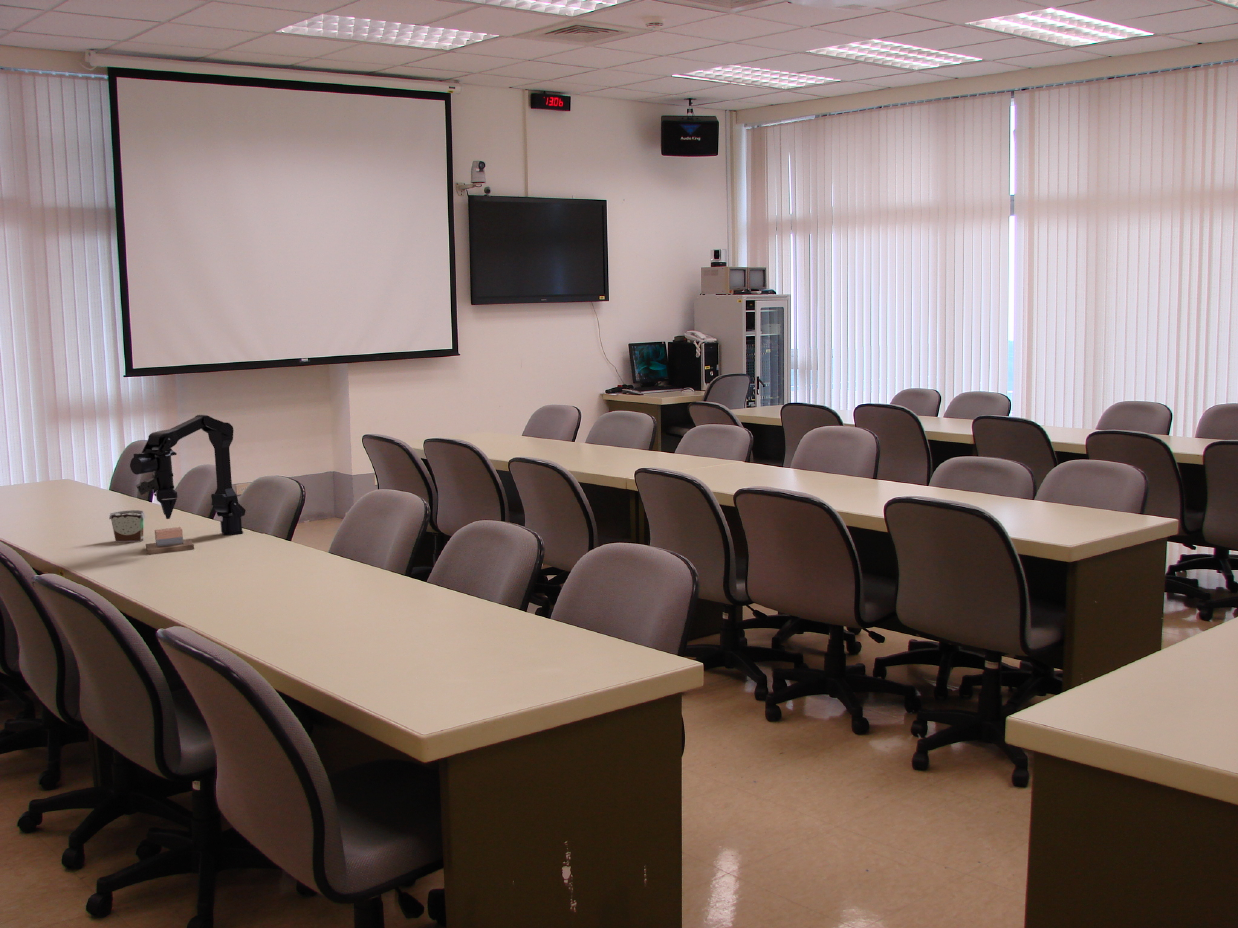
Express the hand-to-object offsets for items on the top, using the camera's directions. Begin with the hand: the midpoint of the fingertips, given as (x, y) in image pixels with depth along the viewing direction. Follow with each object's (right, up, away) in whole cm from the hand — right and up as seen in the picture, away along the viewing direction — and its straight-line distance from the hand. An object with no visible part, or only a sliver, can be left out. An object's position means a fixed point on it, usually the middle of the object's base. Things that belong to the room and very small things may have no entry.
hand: (166, 516), depth 362 cm
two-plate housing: (0, -9, +1) cm, 9 cm away
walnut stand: (0, -11, +2) cm, 11 cm away
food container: (-20, -9, +19) cm, 29 cm away
